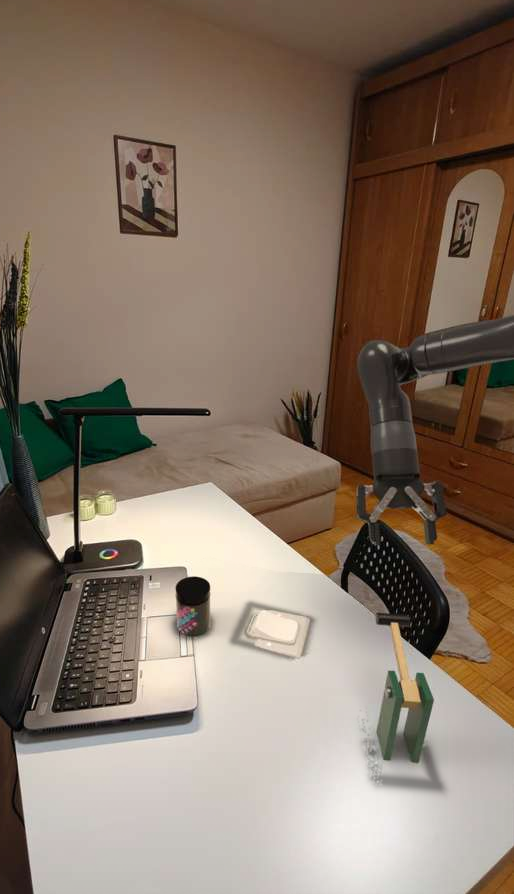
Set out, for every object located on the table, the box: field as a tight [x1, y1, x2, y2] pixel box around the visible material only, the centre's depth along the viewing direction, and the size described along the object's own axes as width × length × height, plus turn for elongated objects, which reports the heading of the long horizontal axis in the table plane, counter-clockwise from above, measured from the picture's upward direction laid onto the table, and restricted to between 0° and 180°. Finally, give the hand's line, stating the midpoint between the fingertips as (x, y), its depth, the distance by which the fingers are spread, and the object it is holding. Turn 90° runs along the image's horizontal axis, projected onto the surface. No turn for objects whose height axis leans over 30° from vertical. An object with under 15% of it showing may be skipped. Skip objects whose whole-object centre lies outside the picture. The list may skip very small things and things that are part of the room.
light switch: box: [246, 609, 311, 659], centre depth 87 cm, size 11×4×13 cm
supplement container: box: [175, 575, 211, 638], centre depth 87 cm, size 7×7×10 cm
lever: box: [375, 612, 421, 709], centre depth 66 cm, size 13×5×2 cm, turn 176°
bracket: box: [376, 670, 435, 764], centre depth 63 cm, size 10×8×14 cm
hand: (403, 544), depth 74 cm, fingers open, 8 cm apart
